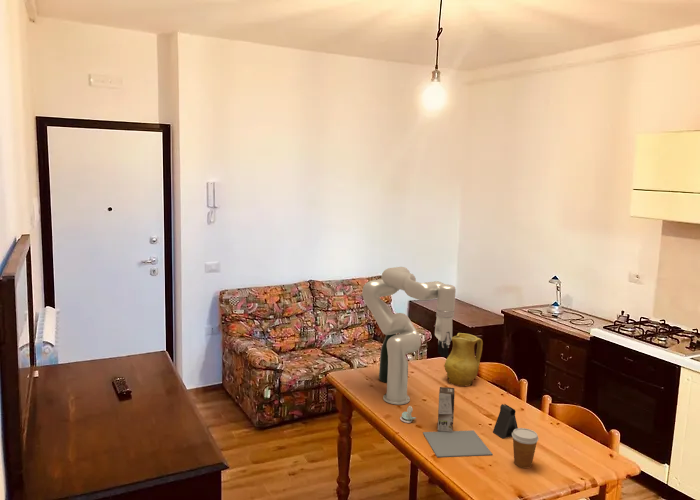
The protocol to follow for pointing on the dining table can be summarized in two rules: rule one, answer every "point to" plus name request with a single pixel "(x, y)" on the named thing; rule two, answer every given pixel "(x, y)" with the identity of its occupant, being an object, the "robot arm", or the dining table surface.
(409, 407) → the pacifier
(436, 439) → the mat
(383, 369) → the dark green bottle
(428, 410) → the dining table surface
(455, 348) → the pitcher
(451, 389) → the coffee box
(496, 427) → the phone stand
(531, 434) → the disposable coffee cup
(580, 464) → the dining table surface
